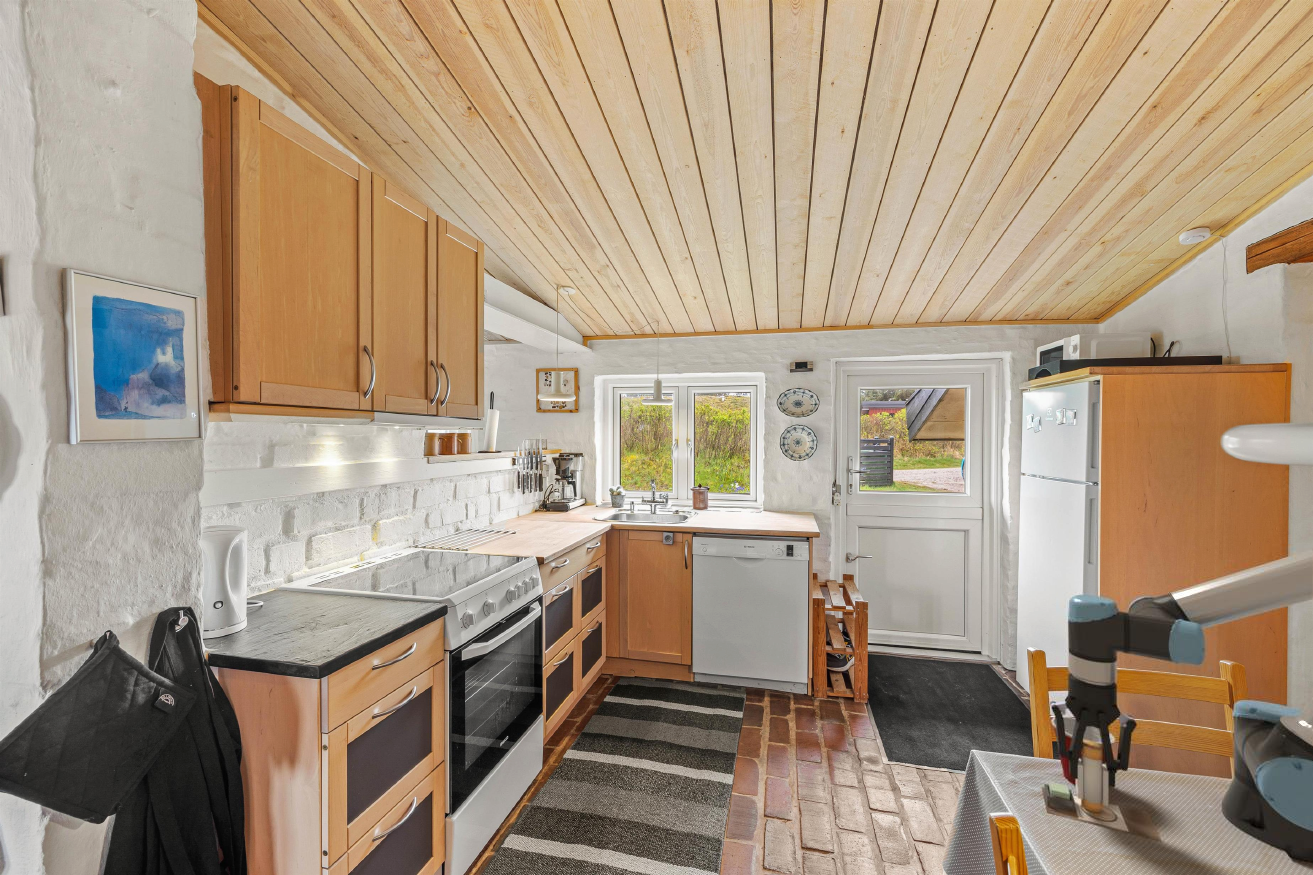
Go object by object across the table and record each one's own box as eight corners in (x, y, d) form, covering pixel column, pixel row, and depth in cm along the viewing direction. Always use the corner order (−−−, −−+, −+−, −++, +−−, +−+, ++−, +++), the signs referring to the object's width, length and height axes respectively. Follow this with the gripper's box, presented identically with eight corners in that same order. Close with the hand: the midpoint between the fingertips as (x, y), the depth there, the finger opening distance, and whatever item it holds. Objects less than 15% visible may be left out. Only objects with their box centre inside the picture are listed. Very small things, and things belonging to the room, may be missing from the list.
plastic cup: (1128, 803, 113) (1127, 743, 113) (1067, 797, 115) (1066, 738, 115) (1097, 772, 124) (1097, 717, 124) (1042, 766, 126) (1041, 712, 126)
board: (1147, 817, 109) (1147, 801, 109) (1162, 847, 101) (1162, 830, 101) (1041, 791, 117) (1041, 777, 117) (1047, 817, 109) (1047, 801, 109)
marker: (1100, 804, 111) (1100, 743, 111) (1104, 814, 108) (1104, 751, 108) (1079, 799, 112) (1079, 738, 112) (1082, 808, 109) (1082, 746, 109)
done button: (1067, 795, 112) (1067, 785, 112) (1069, 804, 110) (1069, 794, 110) (1049, 791, 114) (1049, 781, 114) (1051, 799, 111) (1051, 789, 111)
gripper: (1140, 678, 109) (1140, 799, 109) (1039, 662, 117) (1039, 775, 117) (1152, 694, 103) (1151, 823, 103) (1043, 675, 110) (1043, 795, 111)
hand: (1091, 797), depth 110 cm, fingers closed on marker, 3 cm apart
